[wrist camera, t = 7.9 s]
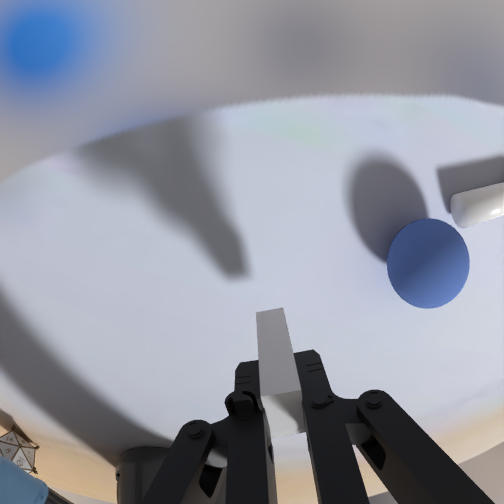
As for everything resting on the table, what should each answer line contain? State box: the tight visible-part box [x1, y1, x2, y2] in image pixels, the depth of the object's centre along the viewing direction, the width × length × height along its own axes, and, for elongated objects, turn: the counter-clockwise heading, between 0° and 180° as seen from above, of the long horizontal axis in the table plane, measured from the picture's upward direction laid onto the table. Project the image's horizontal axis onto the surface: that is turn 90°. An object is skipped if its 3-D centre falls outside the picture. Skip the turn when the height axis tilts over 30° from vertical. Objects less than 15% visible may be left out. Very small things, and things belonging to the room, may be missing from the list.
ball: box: [387, 218, 469, 308], centre depth 16 cm, size 6×6×6 cm
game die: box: [0, 426, 39, 474], centre depth 24 cm, size 9×8×10 cm
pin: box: [450, 182, 504, 228], centre depth 16 cm, size 2×2×8 cm
